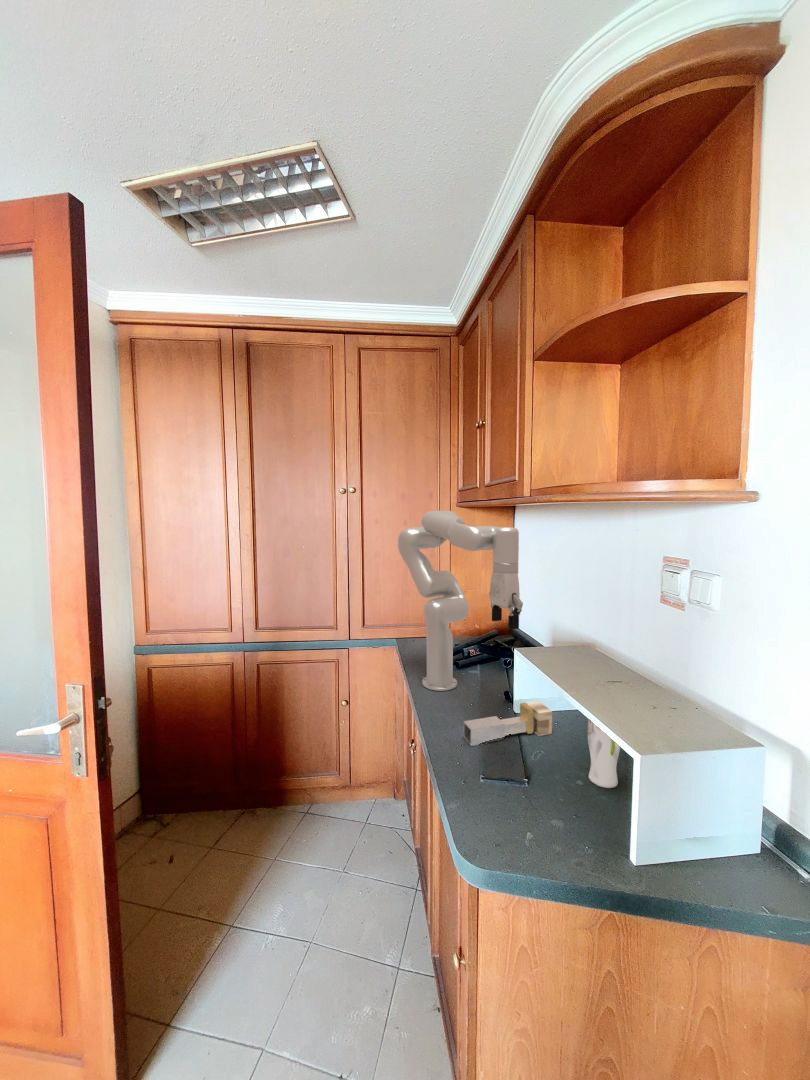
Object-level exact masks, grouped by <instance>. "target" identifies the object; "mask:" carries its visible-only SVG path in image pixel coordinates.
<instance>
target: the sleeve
mask: <svg viewBox="0 0 810 1080" xmlns="http://www.w3.org/2000/svg"><path fill="white" fill-rule="evenodd" d="M505 736H506V735H505V724H504V723H503V722H502V721H501V719H500V718H499V717H498V716H497V715H495V716H488V717H483V718H482V717H481V718H476V719H469V720H464V721H463V738H464V739H465V740H466V742H467V743H468V744H469V746H470V747H474V746H475V747H476V746H480V745H479V744H480V743H482V742H485V741H489V740H493V739H497V738H502V737H505Z"/></svg>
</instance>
